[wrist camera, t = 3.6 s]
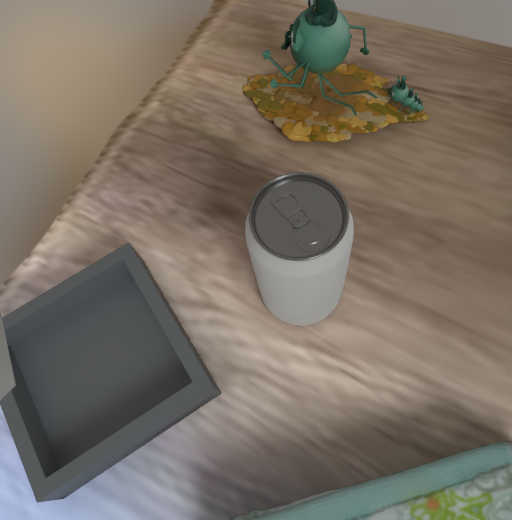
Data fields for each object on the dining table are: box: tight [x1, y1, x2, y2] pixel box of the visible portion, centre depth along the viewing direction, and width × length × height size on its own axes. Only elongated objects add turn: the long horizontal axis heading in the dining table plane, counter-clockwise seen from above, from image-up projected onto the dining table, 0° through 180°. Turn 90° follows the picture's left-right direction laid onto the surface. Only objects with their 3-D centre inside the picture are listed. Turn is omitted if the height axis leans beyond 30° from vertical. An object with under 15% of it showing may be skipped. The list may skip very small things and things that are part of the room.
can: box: [245, 172, 354, 325], centre depth 32 cm, size 6×6×12 cm
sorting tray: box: [0, 243, 221, 502], centre depth 35 cm, size 13×13×4 cm
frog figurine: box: [242, 0, 429, 142], centre depth 38 cm, size 10×18×15 cm, turn 64°
